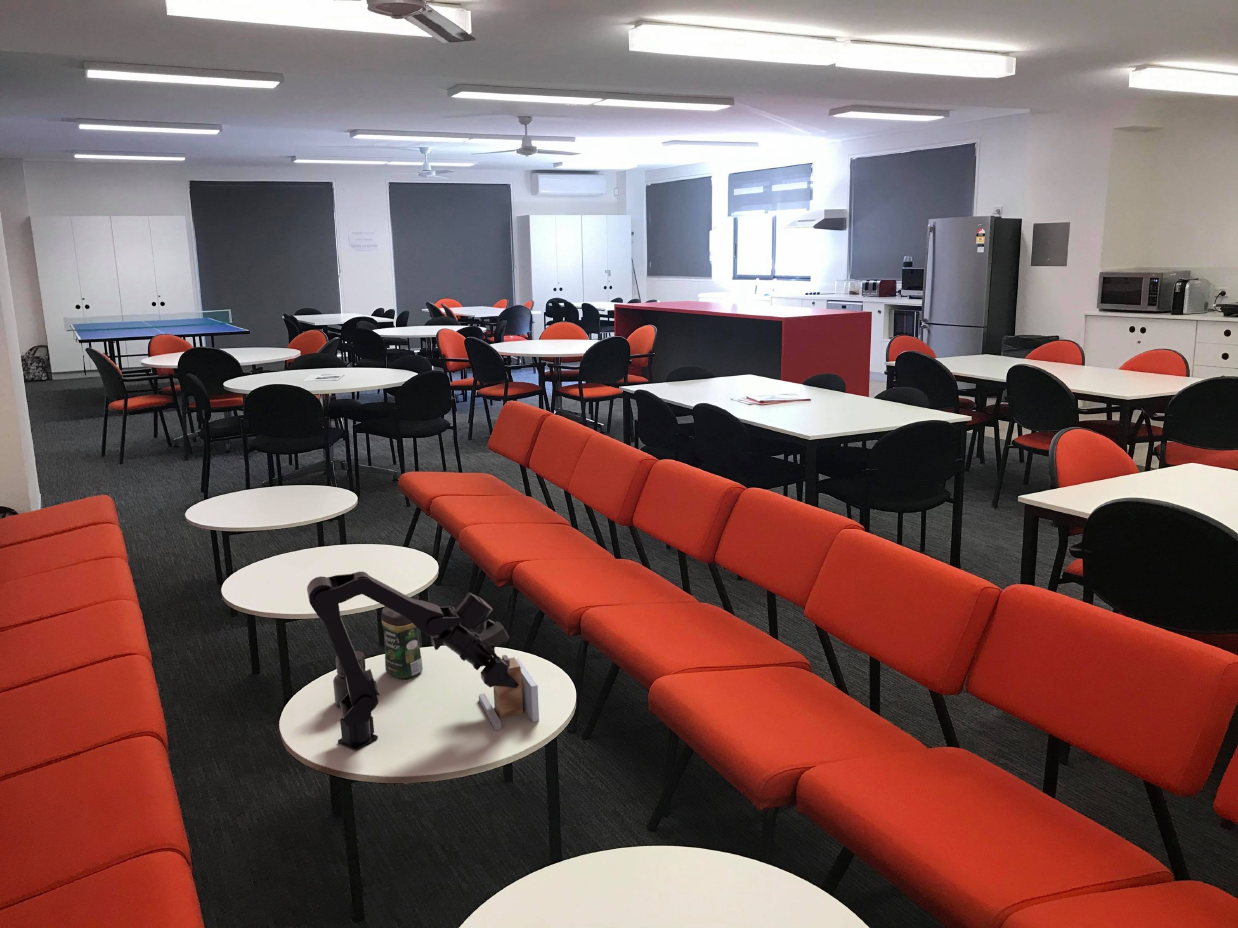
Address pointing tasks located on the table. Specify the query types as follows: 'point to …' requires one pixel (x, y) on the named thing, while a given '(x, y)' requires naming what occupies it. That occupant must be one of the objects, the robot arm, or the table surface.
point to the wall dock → (527, 699)
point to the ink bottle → (344, 678)
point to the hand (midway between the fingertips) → (512, 677)
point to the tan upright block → (509, 692)
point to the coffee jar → (401, 645)
